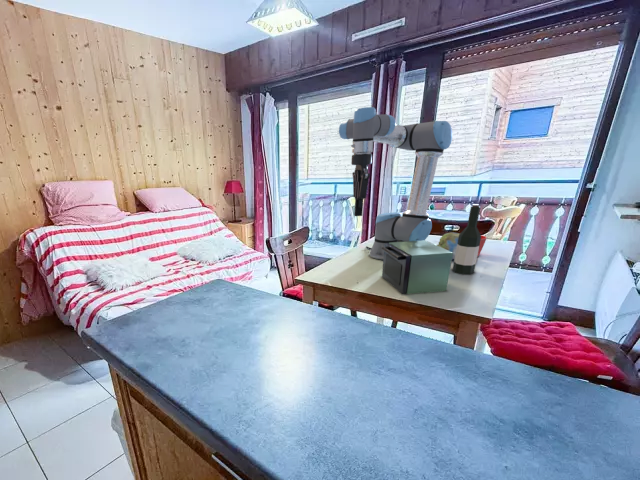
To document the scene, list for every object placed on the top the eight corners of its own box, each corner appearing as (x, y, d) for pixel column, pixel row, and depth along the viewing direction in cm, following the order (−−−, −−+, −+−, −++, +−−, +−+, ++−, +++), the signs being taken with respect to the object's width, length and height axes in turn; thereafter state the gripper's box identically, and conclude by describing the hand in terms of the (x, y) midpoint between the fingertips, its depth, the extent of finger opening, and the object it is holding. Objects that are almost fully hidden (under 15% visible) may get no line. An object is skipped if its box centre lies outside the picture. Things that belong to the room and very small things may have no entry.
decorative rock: (469, 231, 154) (460, 225, 168) (432, 240, 160) (427, 234, 173) (474, 258, 157) (465, 251, 171) (438, 266, 163) (432, 259, 177)
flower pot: (482, 252, 172) (486, 234, 169) (482, 258, 164) (486, 239, 160) (459, 250, 178) (462, 233, 174) (458, 256, 169) (461, 237, 166)
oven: (406, 294, 130) (411, 255, 124) (385, 276, 148) (389, 242, 142) (446, 291, 130) (453, 252, 124) (420, 274, 149) (425, 240, 143)
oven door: (396, 294, 130) (400, 256, 124) (377, 277, 148) (379, 243, 142) (406, 293, 130) (410, 255, 124) (385, 276, 148) (388, 242, 142)
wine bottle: (472, 275, 144) (487, 206, 132) (451, 272, 148) (463, 205, 137) (474, 269, 150) (488, 203, 139) (453, 267, 154) (465, 202, 143)
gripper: (347, 154, 130) (344, 213, 139) (358, 154, 118) (354, 219, 127) (365, 153, 130) (361, 212, 139) (378, 152, 118) (373, 217, 127)
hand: (358, 215), depth 133 cm, fingers closed
